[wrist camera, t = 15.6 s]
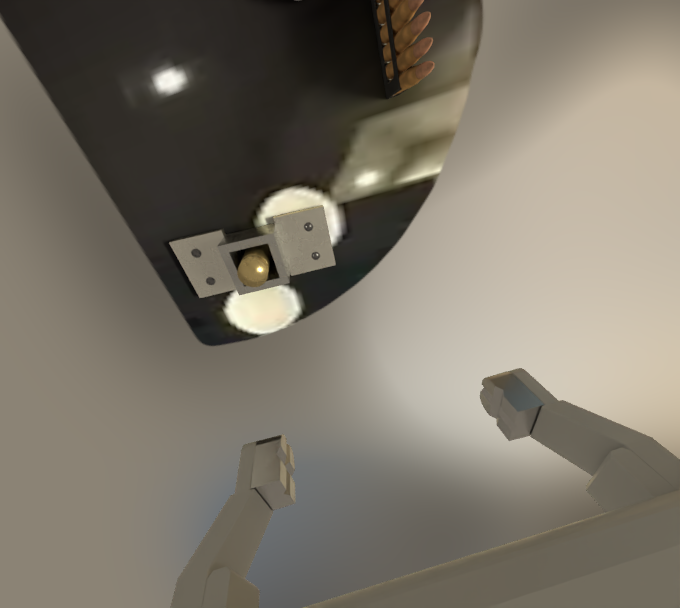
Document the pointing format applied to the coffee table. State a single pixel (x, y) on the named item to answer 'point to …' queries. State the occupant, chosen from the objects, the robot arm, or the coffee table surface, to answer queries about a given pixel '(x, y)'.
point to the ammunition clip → (401, 43)
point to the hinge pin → (254, 266)
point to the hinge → (224, 249)
